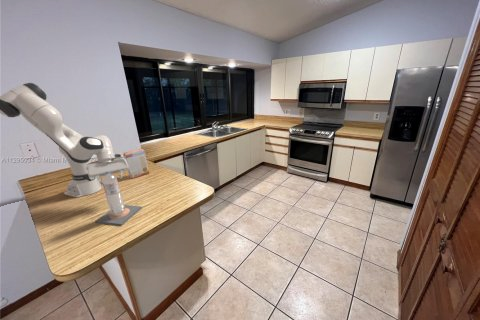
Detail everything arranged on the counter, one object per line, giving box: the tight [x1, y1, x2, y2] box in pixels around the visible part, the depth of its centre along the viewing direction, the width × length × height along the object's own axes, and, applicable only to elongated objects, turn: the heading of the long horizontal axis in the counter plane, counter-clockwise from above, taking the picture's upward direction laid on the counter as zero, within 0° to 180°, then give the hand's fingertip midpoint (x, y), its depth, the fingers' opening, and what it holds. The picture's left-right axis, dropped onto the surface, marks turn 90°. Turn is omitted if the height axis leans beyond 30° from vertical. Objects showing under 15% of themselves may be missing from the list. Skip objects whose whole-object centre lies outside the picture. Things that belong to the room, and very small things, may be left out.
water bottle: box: [101, 171, 126, 217], centre depth 104 cm, size 7×7×25 cm
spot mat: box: [94, 204, 143, 226], centre depth 109 cm, size 16×16×1 cm
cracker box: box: [123, 148, 150, 180], centre depth 158 cm, size 14×6×21 cm, turn 135°
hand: (111, 180), depth 113 cm, fingers open, 8 cm apart
